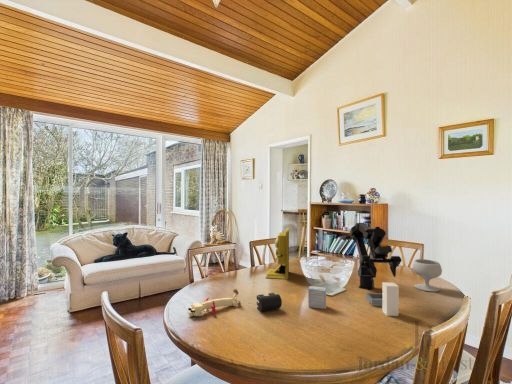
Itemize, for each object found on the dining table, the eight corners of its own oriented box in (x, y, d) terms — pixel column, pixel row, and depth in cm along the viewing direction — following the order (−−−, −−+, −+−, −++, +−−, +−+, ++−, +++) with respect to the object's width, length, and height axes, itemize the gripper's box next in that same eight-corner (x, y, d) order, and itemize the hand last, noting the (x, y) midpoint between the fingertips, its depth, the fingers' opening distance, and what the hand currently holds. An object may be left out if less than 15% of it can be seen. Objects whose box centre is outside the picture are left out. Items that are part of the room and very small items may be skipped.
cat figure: (232, 303, 138) (183, 312, 124) (233, 285, 139) (185, 292, 124) (243, 310, 130) (192, 320, 116) (244, 291, 131) (194, 299, 116)
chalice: (414, 290, 153) (414, 263, 153) (410, 283, 166) (411, 257, 166) (444, 294, 148) (444, 266, 148) (438, 286, 161) (438, 260, 161)
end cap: (261, 314, 123) (261, 299, 123) (255, 308, 130) (255, 294, 130) (281, 311, 127) (282, 296, 127) (275, 305, 133) (275, 291, 133)
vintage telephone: (269, 267, 198) (269, 225, 198) (289, 268, 196) (289, 225, 196) (264, 281, 167) (264, 231, 167) (287, 283, 165) (288, 232, 165)
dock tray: (366, 298, 142) (366, 292, 142) (383, 299, 141) (384, 293, 141) (372, 305, 133) (372, 299, 133) (391, 306, 132) (391, 300, 132)
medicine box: (326, 305, 133) (326, 287, 133) (325, 309, 128) (325, 290, 128) (309, 303, 135) (309, 285, 135) (308, 307, 131) (308, 288, 131)
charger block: (382, 310, 127) (382, 282, 127) (393, 311, 127) (393, 282, 127) (386, 315, 123) (386, 286, 122) (398, 316, 122) (398, 286, 122)
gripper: (361, 239, 139) (369, 267, 128) (399, 239, 138) (411, 267, 127) (356, 252, 147) (363, 279, 135) (392, 252, 146) (403, 280, 134)
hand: (385, 276), depth 133 cm, fingers open, 9 cm apart
